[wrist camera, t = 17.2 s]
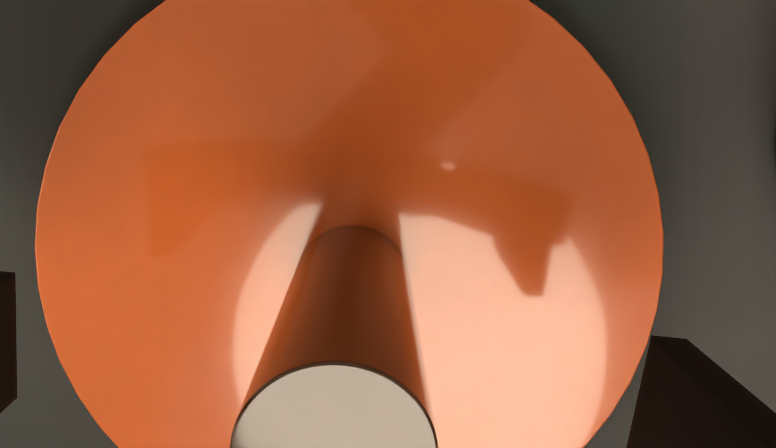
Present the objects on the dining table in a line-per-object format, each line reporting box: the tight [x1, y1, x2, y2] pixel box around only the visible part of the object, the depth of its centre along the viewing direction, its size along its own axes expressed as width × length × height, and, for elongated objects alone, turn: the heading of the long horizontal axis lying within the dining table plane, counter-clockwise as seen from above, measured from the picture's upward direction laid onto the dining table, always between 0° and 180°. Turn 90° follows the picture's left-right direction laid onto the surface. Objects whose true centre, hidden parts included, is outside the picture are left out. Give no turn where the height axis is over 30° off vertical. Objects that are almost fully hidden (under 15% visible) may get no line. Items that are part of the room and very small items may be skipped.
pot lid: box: [35, 0, 663, 448], centre depth 15 cm, size 18×18×10 cm
